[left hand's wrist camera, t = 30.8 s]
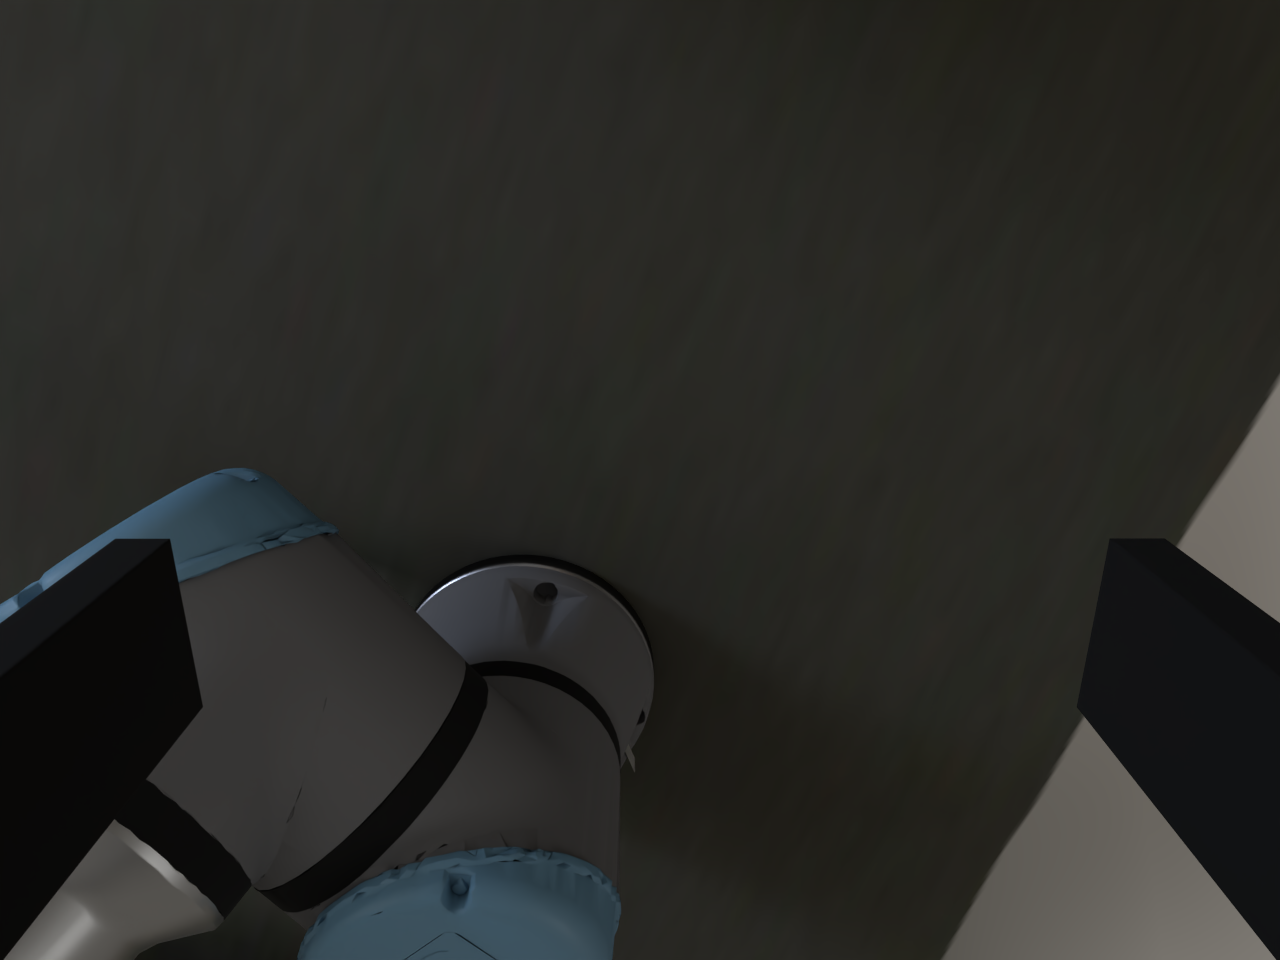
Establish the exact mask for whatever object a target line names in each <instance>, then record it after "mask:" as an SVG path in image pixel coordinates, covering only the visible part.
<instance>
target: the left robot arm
mask: <svg viewBox="0 0 1280 960" xmlns="http://www.w3.org/2000/svg"><path fill="white" fill-rule="evenodd" d="M338 533H339V530H338V529H337V528H336V526H334V525H333V524H331V523H328V522H323V521H322V520H320V519H319V518H318V517H317V516H315V515H314V514H313V513H312V512H311V511H310V510H309V509H307V508H306V507H305V506H304V505H303V504H302V503H301V502H299V501H298V500H297V499H296V498H295V497H294V496H293V495H291V494H290V493H289V492H288V491H287V490H286V489H285V488H284V487H282V486H281V485H280V484H279V483H278V482H277V481H276V480H274V479H273V478H272V477H270V476H268V475H266V474H264V473H262V472H259V471H256V470H253V469H248V468H231V469H224V470H220V471H217V472H214V473H211V474H209V475H206V476H204V477H201V478H199V479H197V480H195V481H193V482H191V483H189V484H187V485H185V486H183V487H181V488H179V489H177V490H175V491H174V492H172V493H170V494H168V495H167V496H165V497H163V498H161V499H160V500H158V501H156V502H154V503H153V504H151V505H149V506H147V507H146V508H144V509H142V510H141V511H139V512H137V513H136V514H134V515H132V516H131V517H129V518H127V519H126V520H124V521H123V522H121V523H119V524H118V525H116V526H114V527H113V528H111V529H110V530H108V531H106V532H105V533H103V534H102V535H100V536H99V537H97V538H95V539H94V540H92V541H91V542H89V543H88V544H86V545H85V546H83V547H82V548H80V549H79V550H77V551H76V552H74V553H73V554H71V555H69V556H68V557H67V558H65V559H64V560H62V561H61V562H59V563H58V564H57V565H55V566H54V567H52V568H51V569H50V570H48V571H47V572H45V573H44V575H43V576H42V578H41V579H40V580H39V581H36V582H34V583H32V584H30V585H29V586H27V587H26V588H25V589H23V590H22V591H21V592H20V593H19V594H17V595H15V596H14V597H12V598H10V599H8V600H7V601H5V602H3V603H2V604H0V960H134V959H135V958H136V956H137V955H138V954H139V953H140V952H142V951H144V950H146V949H148V948H150V947H152V946H154V945H156V944H157V943H161V942H165V941H169V940H174V939H178V938H182V937H186V936H190V935H194V934H199V933H203V932H207V931H211V930H215V929H216V928H217V927H218V926H219V925H220V924H221V923H222V922H223V921H224V919H225V918H226V917H227V916H228V914H229V913H230V912H231V911H232V909H233V908H234V907H235V906H236V904H237V903H238V902H239V901H240V899H241V898H242V897H243V896H244V894H245V893H246V892H247V891H248V889H249V888H250V887H251V886H253V887H254V888H255V889H256V890H257V891H259V892H260V893H262V894H263V895H264V896H265V897H267V898H268V899H269V900H270V901H272V902H273V903H274V904H275V905H277V906H278V907H279V908H280V909H282V910H283V911H284V912H285V913H286V914H287V915H289V916H290V917H291V918H292V919H294V920H295V921H296V922H297V923H299V924H300V925H301V926H302V927H303V928H305V929H306V930H307V932H306V934H305V936H304V940H303V941H302V943H301V945H300V950H299V953H298V956H297V960H612V955H613V945H614V935H615V933H616V931H617V928H618V925H619V922H618V921H619V918H620V916H621V901H620V896H619V866H620V770H621V767H622V766H623V764H624V762H625V760H626V759H627V757H628V759H629V761H630V763H631V766H632V768H633V770H634V772H635V757H634V755H633V753H632V751H631V749H632V747H633V746H634V745H635V743H636V741H637V739H638V738H639V736H640V734H641V732H642V730H643V728H644V726H645V723H646V721H647V718H648V714H649V711H650V707H651V703H652V699H653V691H654V663H653V654H652V649H651V645H650V641H649V638H648V635H647V632H646V630H645V628H644V626H643V624H642V622H641V620H640V618H639V617H638V615H637V613H636V612H635V610H634V609H633V608H632V606H631V605H630V604H629V602H628V601H627V600H626V599H625V598H624V597H623V596H622V595H621V594H620V593H619V592H618V591H617V590H616V589H615V588H613V587H612V586H611V585H610V584H608V583H607V582H606V581H604V580H603V579H602V578H600V577H598V576H597V575H595V574H593V573H592V572H590V571H588V570H586V569H583V568H581V567H579V566H577V565H574V564H571V563H569V562H566V561H562V560H558V559H555V558H549V557H544V556H535V555H509V556H500V557H495V558H490V559H486V560H483V561H479V562H476V563H474V564H471V565H468V566H466V567H464V568H462V569H460V570H458V571H456V572H454V573H453V574H451V575H449V576H448V577H446V578H445V579H443V580H442V581H441V582H440V583H438V584H437V585H436V586H435V587H434V588H433V589H432V590H431V591H430V592H429V593H428V594H427V595H426V596H425V597H424V598H423V600H422V601H421V602H420V603H419V605H418V607H417V608H416V610H414V609H413V608H412V607H411V606H410V605H409V604H408V603H407V602H406V601H405V600H404V599H403V598H402V597H401V596H400V595H399V594H398V593H397V592H396V591H395V590H394V589H393V588H392V587H391V586H390V585H389V584H387V583H386V582H385V581H384V580H383V579H382V578H381V577H380V576H379V575H378V574H377V573H376V572H375V571H374V570H373V569H372V568H371V567H370V566H369V565H368V564H367V563H366V562H365V561H364V560H363V559H362V558H361V557H360V556H359V555H358V554H357V553H356V552H355V551H354V550H353V549H352V548H351V547H350V546H349V545H348V544H347V543H346V542H345V541H344V540H343V539H342V538H341V537H340V536H339V535H338ZM1077 708H1078V709H1079V710H1080V712H1081V713H1082V714H1083V715H1084V717H1085V718H1086V719H1087V720H1088V722H1089V723H1090V724H1091V725H1092V727H1093V728H1094V729H1095V731H1096V732H1097V733H1098V734H1099V736H1100V737H1101V738H1102V739H1103V741H1104V742H1105V743H1106V744H1107V746H1108V747H1109V748H1110V749H1111V751H1112V752H1113V753H1114V755H1115V756H1116V757H1117V758H1118V760H1119V761H1120V762H1121V763H1122V765H1123V766H1124V767H1125V769H1126V770H1127V771H1128V772H1129V774H1130V775H1131V776H1132V777H1133V779H1134V780H1135V781H1136V782H1137V784H1138V785H1139V786H1140V787H1141V789H1142V790H1143V791H1144V793H1145V794H1146V795H1147V796H1148V798H1149V799H1150V800H1151V801H1152V803H1153V804H1154V805H1155V807H1156V808H1157V809H1158V810H1159V812H1160V813H1161V814H1162V815H1163V817H1164V818H1165V819H1166V820H1167V822H1168V823H1169V824H1170V826H1171V827H1172V828H1173V829H1174V831H1175V832H1176V833H1177V834H1178V836H1179V837H1180V838H1181V839H1182V841H1183V842H1184V843H1185V845H1186V846H1187V847H1188V848H1189V850H1190V851H1191V852H1192V853H1193V855H1194V856H1195V857H1196V858H1197V860H1198V861H1199V862H1200V864H1201V865H1202V866H1203V867H1204V869H1205V870H1206V871H1207V872H1208V874H1209V875H1210V876H1211V878H1212V879H1213V880H1214V881H1215V882H1216V884H1217V885H1218V886H1219V888H1220V889H1221V890H1222V891H1223V893H1224V894H1225V895H1226V897H1227V898H1228V899H1229V900H1230V902H1231V903H1232V904H1233V905H1234V907H1235V908H1236V909H1237V910H1238V912H1239V913H1240V914H1241V916H1242V917H1243V918H1244V919H1245V920H1246V922H1247V923H1248V924H1249V926H1250V927H1251V928H1252V929H1253V931H1254V932H1255V933H1256V935H1257V936H1258V937H1259V938H1260V940H1261V941H1262V942H1263V943H1264V945H1265V946H1266V947H1267V948H1268V950H1269V951H1270V952H1271V953H1272V955H1273V956H1274V957H1275V959H1276V960H1280V623H1279V622H1278V621H1276V620H1275V619H1274V618H1272V617H1271V616H1269V615H1268V614H1267V613H1265V612H1264V611H1263V610H1261V609H1260V608H1259V607H1257V606H1256V605H1254V604H1253V603H1252V602H1250V601H1249V600H1248V599H1246V598H1245V597H1244V596H1242V595H1241V594H1239V593H1238V592H1237V591H1235V590H1234V589H1233V588H1231V587H1230V586H1229V585H1227V584H1226V583H1224V582H1223V581H1222V580H1220V579H1219V578H1218V577H1216V576H1215V575H1214V574H1212V573H1211V572H1209V571H1208V570H1207V569H1205V568H1204V567H1203V566H1201V565H1200V564H1199V563H1197V562H1196V561H1194V560H1193V559H1192V558H1190V557H1189V556H1188V555H1186V554H1185V553H1184V552H1182V551H1181V550H1180V549H1178V548H1177V547H1175V546H1174V545H1173V544H1171V543H1170V542H1169V541H1167V540H1166V539H1110V540H1109V546H1108V551H1107V556H1106V561H1105V566H1104V571H1103V576H1102V581H1101V586H1100V592H1099V597H1098V602H1097V607H1096V612H1095V617H1094V622H1093V627H1092V632H1091V637H1090V643H1089V648H1088V653H1087V658H1086V663H1085V668H1084V673H1083V678H1082V683H1081V688H1080V694H1079V699H1078V704H1077Z"/></svg>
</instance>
